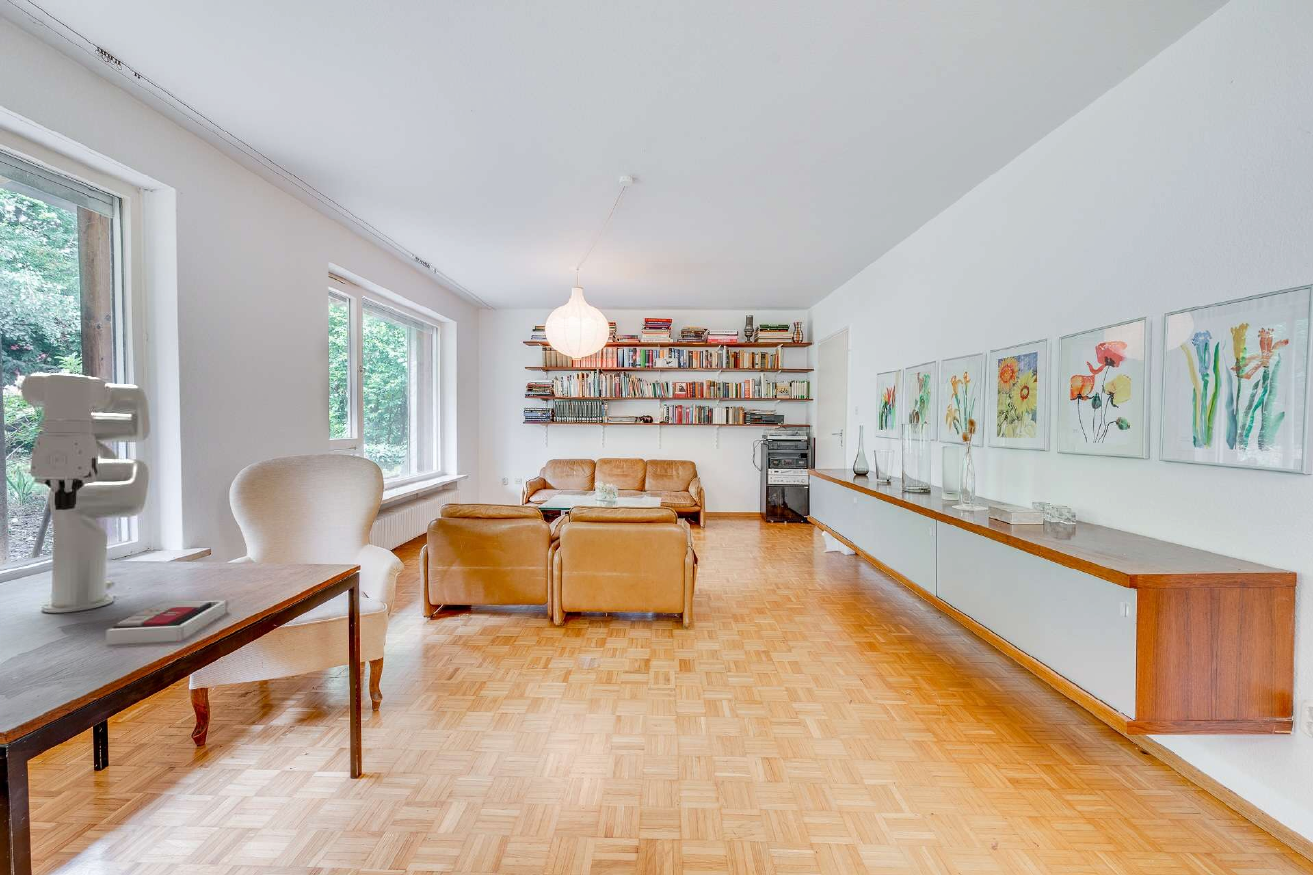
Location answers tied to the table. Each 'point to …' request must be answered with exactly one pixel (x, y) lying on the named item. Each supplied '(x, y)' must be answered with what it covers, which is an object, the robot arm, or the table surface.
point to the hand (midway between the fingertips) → (65, 508)
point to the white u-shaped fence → (167, 628)
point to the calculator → (165, 615)
